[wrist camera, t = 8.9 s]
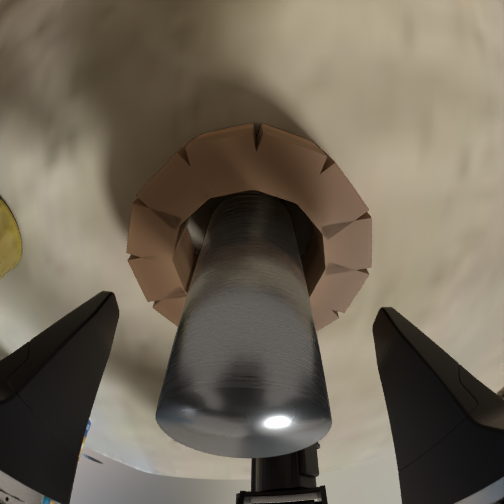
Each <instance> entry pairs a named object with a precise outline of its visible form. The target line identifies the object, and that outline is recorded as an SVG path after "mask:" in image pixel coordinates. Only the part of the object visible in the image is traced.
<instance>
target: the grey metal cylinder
mask: <svg viewBox="0 0 504 504" xmlns="http://www.w3.org/2000/svg"><path fill="white" fill-rule="evenodd" d="M156 421H157V423H158V425H159V427H160V428H161V429H162V430H163V431H164V432H165V433H166V434H167V435H168V436H169V437H171V438H172V439H174V440H175V441H177V442H179V443H181V444H183V445H185V446H187V447H190V448H193V449H195V450H198V451H202V452H205V453H209V454H213V455H219V456H225V457H234V458H264V457H273V456H279V455H284V454H289V453H292V452H296V451H299V450H302V449H304V448H306V447H309V446H311V445H313V444H314V443H316V442H318V441H319V440H321V439H322V438H323V437H324V436H325V435H326V434H327V433H328V432H329V430H330V428H331V425H332V418H331V412H330V406H329V400H328V394H327V388H326V382H325V376H324V371H323V365H322V360H321V354H320V349H319V344H318V339H317V334H316V328H315V323H314V319H313V314H312V309H311V304H310V299H309V294H308V290H307V285H306V280H305V276H304V271H303V267H302V262H301V258H300V254H299V249H298V245H297V241H296V236H295V232H294V228H293V224H292V220H291V216H290V214H289V212H288V210H287V208H286V207H285V206H284V205H283V204H282V203H281V202H280V201H279V200H278V199H277V198H275V197H273V196H272V195H269V194H266V193H263V192H260V191H244V192H239V193H235V194H232V195H230V196H228V197H227V198H225V199H224V200H223V201H222V202H221V203H220V204H219V205H218V206H217V207H216V209H215V210H214V212H213V214H212V217H211V220H210V223H209V226H208V229H207V232H206V235H205V238H204V241H203V245H202V248H201V251H200V254H199V257H198V261H197V264H196V267H195V270H194V274H193V277H192V280H191V284H190V287H189V290H188V294H187V297H186V300H185V304H184V307H183V311H182V314H181V318H180V321H179V325H178V329H177V332H176V336H175V340H174V343H173V347H172V351H171V354H170V358H169V362H168V366H167V370H166V374H165V378H164V382H163V386H162V390H161V394H160V398H159V402H158V406H157V411H156Z"/></svg>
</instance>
